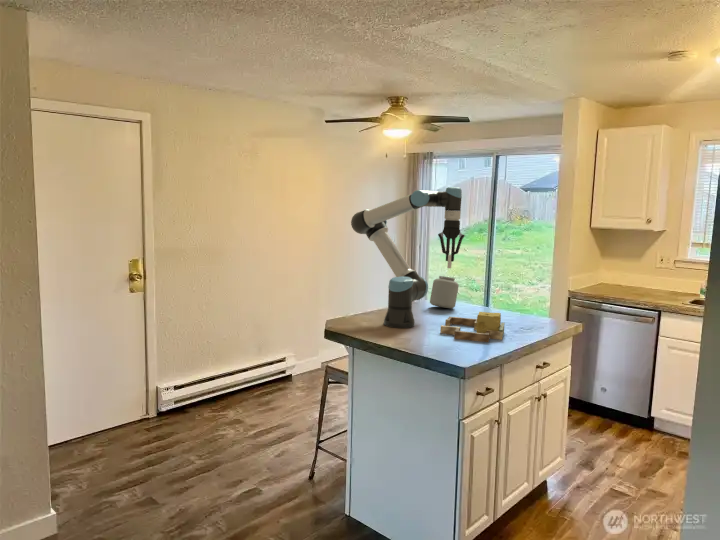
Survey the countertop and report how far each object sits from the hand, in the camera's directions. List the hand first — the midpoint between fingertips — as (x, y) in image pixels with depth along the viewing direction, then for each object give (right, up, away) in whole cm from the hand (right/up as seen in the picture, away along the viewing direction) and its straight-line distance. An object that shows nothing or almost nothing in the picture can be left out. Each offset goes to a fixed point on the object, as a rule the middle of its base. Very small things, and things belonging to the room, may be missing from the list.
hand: (449, 267), depth 262 cm
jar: (+6, -23, +50) cm, 56 cm away
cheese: (+16, -32, -11) cm, 37 cm away
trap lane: (+10, -31, -8) cm, 33 cm away
